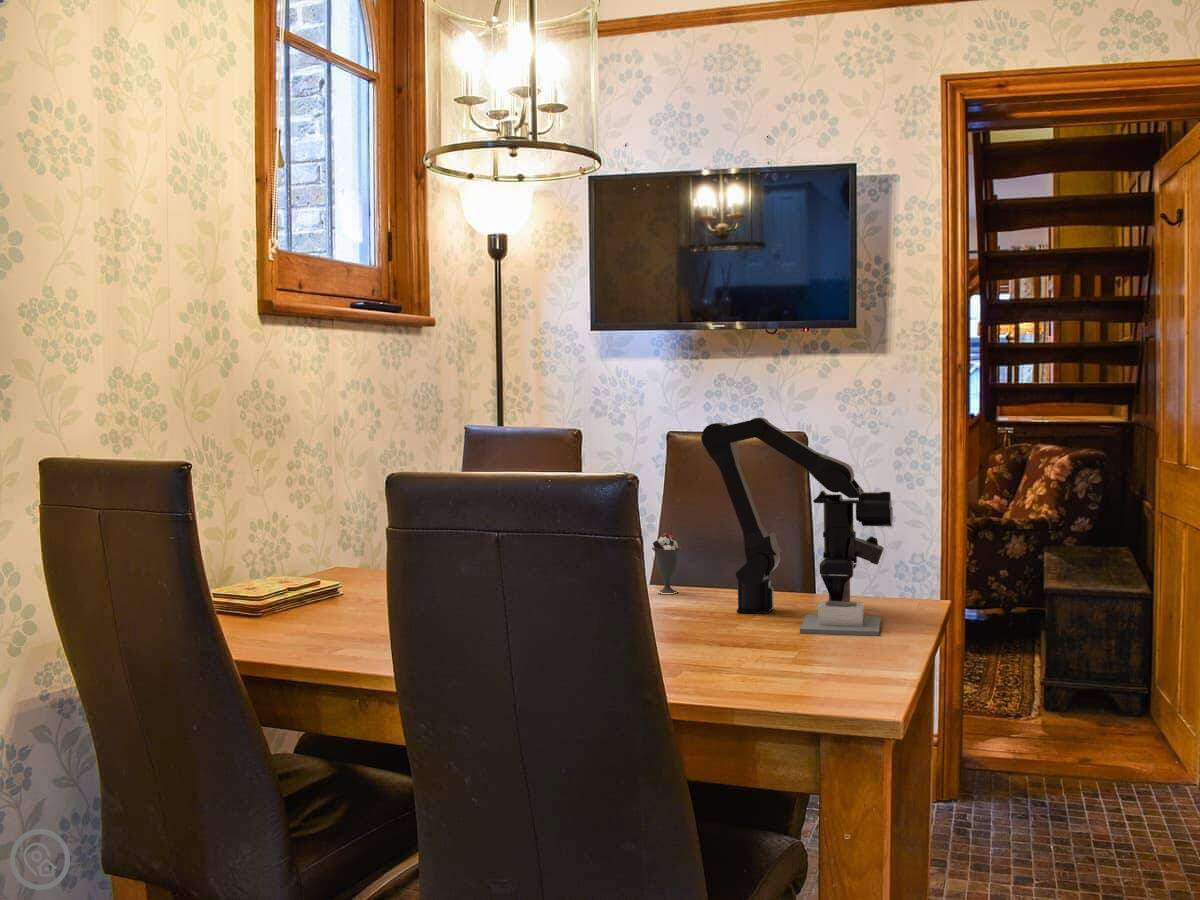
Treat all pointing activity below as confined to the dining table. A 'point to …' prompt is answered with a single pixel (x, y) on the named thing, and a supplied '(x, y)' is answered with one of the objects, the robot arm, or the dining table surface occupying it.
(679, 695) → the dining table surface
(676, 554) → the sundae
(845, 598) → the wooden block
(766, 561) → the robot arm
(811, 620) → the slate board
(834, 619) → the white hollow frame
